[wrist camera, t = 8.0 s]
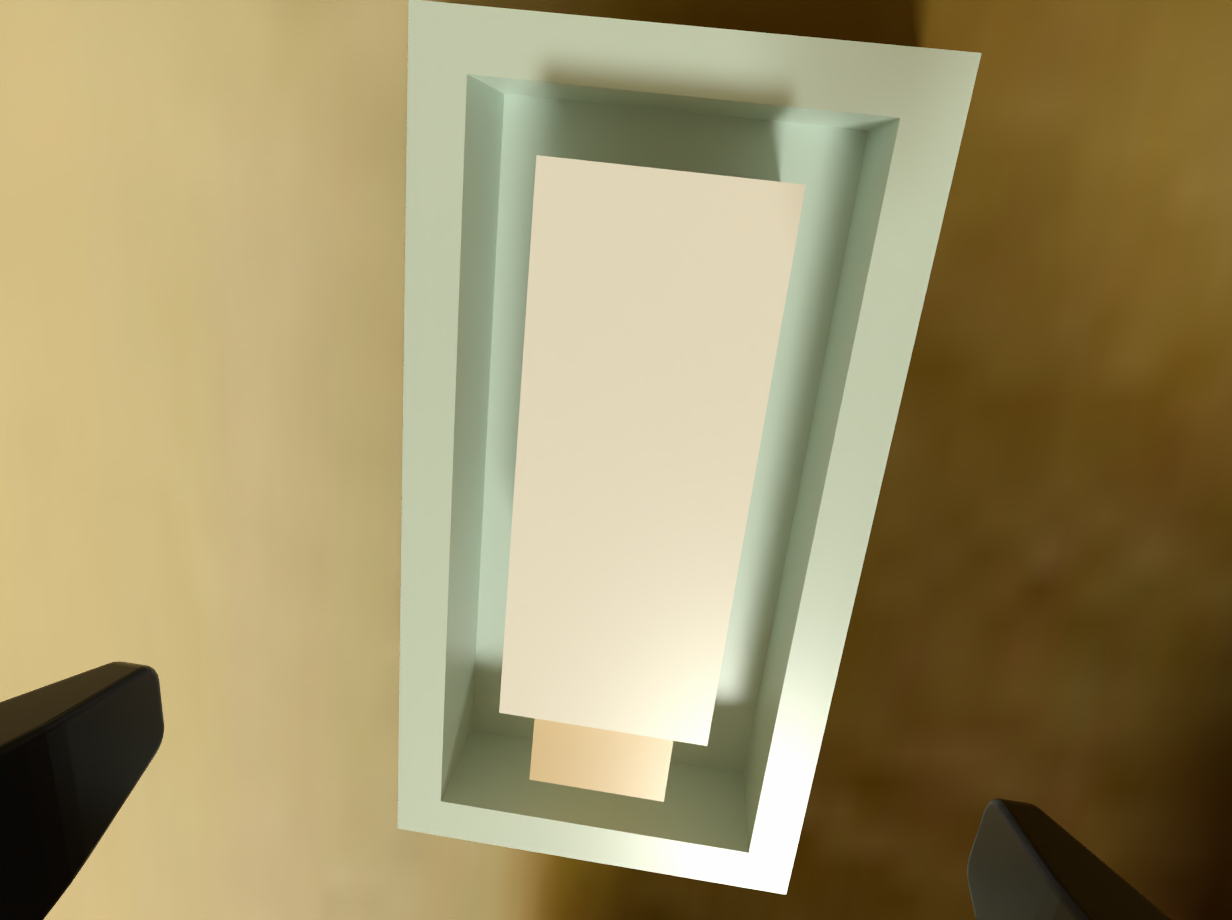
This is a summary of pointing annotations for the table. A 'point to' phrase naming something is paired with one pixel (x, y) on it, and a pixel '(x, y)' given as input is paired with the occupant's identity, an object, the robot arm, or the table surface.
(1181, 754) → the table surface
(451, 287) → the trough
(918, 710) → the table surface
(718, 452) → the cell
